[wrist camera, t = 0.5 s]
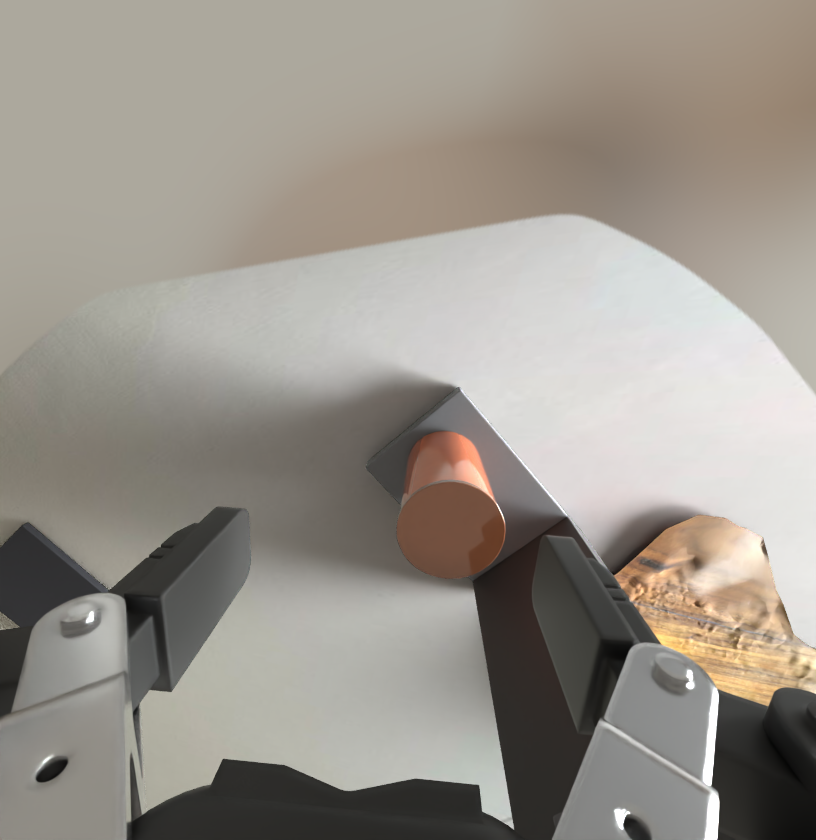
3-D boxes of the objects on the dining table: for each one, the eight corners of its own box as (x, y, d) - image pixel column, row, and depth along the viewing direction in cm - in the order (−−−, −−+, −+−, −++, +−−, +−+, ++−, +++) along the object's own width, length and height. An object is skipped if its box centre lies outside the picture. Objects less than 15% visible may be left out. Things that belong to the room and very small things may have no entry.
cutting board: (462, 649, 39) (465, 685, 35) (713, 476, 33) (748, 497, 30) (668, 843, 45) (689, 891, 41) (913, 725, 39) (963, 769, 35)
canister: (389, 461, 33) (373, 525, 23) (448, 413, 31) (458, 460, 22) (438, 514, 34) (443, 597, 24) (497, 470, 32) (527, 539, 23)
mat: (-29, 579, 40) (-36, 583, 39) (28, 521, 37) (21, 525, 37) (53, 644, 41) (48, 649, 41) (112, 592, 39) (107, 597, 39)
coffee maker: (367, 461, 34) (207, 872, 9) (459, 386, 32) (570, 655, 7) (491, 592, 37) (622, 1176, 12) (582, 531, 35) (966, 1083, 10)
